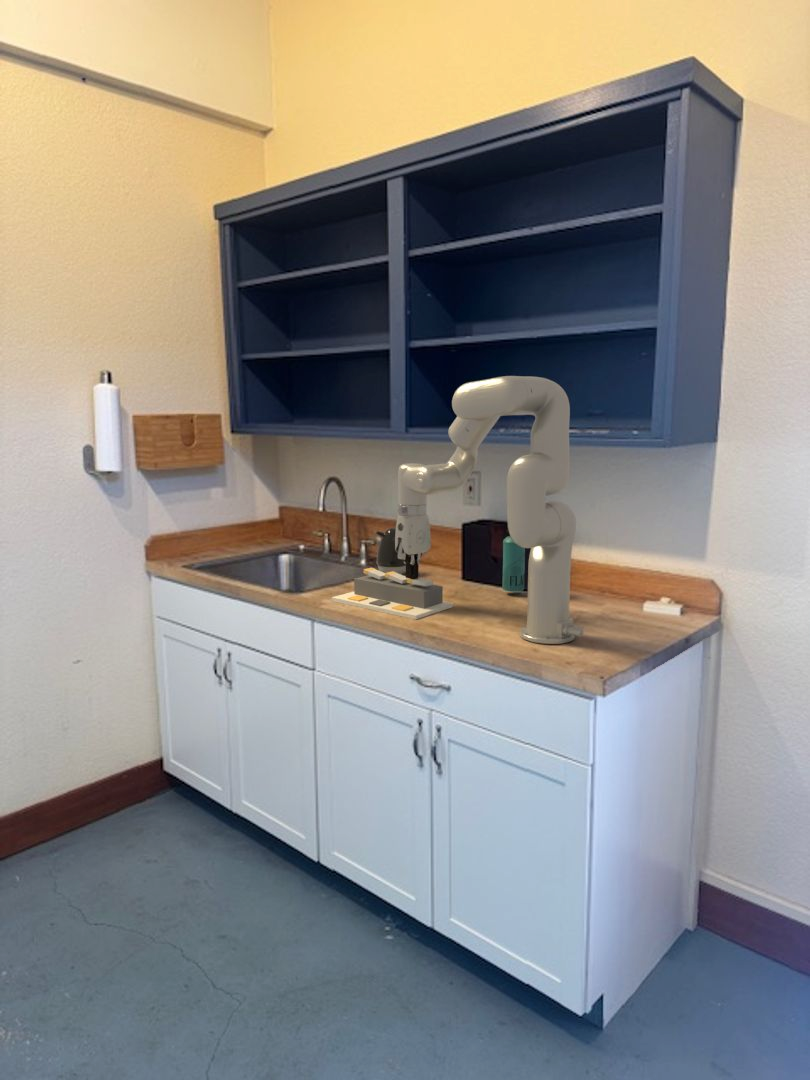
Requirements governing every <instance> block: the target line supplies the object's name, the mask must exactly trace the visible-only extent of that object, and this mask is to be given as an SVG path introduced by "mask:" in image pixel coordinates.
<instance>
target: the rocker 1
mask: <svg viewBox="0 0 810 1080" xmlns="http://www.w3.org/2000/svg"><path fill="white" fill-rule="evenodd" d="M362 573H363V574H364V575H370V576H372V577H375V578H377V579H380V580H381V579H385V578H386V577H385V573H384V572H381V571H380V570H379V569H376V568H374V567H369V568H368V567H367V568H363V572H362Z"/></svg>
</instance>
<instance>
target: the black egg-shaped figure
mask: <svg viewBox="0 0 810 1080" xmlns="http://www.w3.org/2000/svg"><path fill="white" fill-rule="evenodd" d="M395 533H396V527H390V528H387V529H385V531H384V532H382V531H378V530H376V533H375V534H376V535H377V536H381V538H380V542H379V543H378V544H379V545H378V548H377V555H376V565H377V567H378V570H379V571H381V572H384V573H388V572H392V571H394V572H396V573H398V574H401V575H403V574H404V573H406V564H405V563H404V560H403V559H398V553H397V552H396V549H395Z"/></svg>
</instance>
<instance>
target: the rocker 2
mask: <svg viewBox="0 0 810 1080" xmlns="http://www.w3.org/2000/svg"><path fill="white" fill-rule="evenodd" d="M407 583H411V584H416V585H421V586H429V585H434V580H432V579H427V578H421V577H418V578H417V579H410V578H409V579H407Z"/></svg>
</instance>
